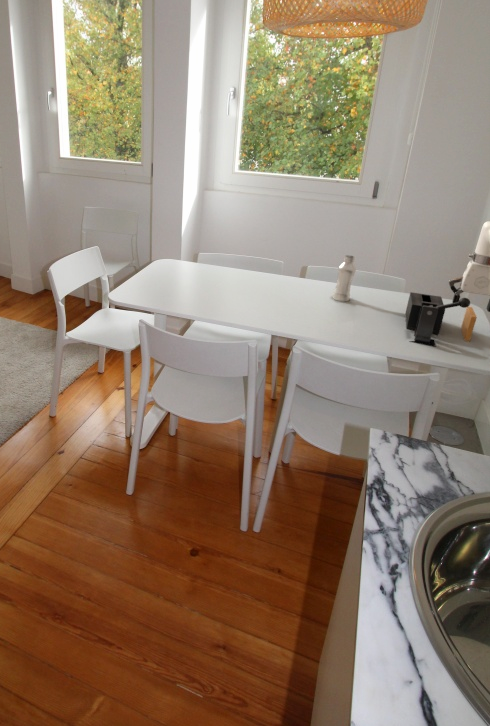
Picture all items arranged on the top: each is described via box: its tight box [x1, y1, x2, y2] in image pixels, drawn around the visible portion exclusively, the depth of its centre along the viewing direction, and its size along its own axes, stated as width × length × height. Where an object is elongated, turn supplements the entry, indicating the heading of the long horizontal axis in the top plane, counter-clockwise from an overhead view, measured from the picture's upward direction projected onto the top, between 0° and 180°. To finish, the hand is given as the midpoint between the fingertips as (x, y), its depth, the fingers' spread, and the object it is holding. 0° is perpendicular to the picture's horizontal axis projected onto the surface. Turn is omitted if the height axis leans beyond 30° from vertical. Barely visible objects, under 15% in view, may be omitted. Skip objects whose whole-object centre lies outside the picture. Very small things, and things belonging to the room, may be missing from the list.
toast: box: [460, 306, 478, 342], centre depth 161 cm, size 2×10×10 cm, turn 154°
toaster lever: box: [428, 297, 471, 310], centre depth 152 cm, size 13×3×3 cm, turn 65°
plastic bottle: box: [332, 254, 356, 302], centre depth 188 cm, size 6×7×20 cm
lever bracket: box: [408, 301, 438, 348], centre depth 156 cm, size 8×8×14 cm
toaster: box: [404, 292, 446, 336], centre depth 168 cm, size 10×14×11 cm
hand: (471, 307), depth 159 cm, fingers open, 9 cm apart
